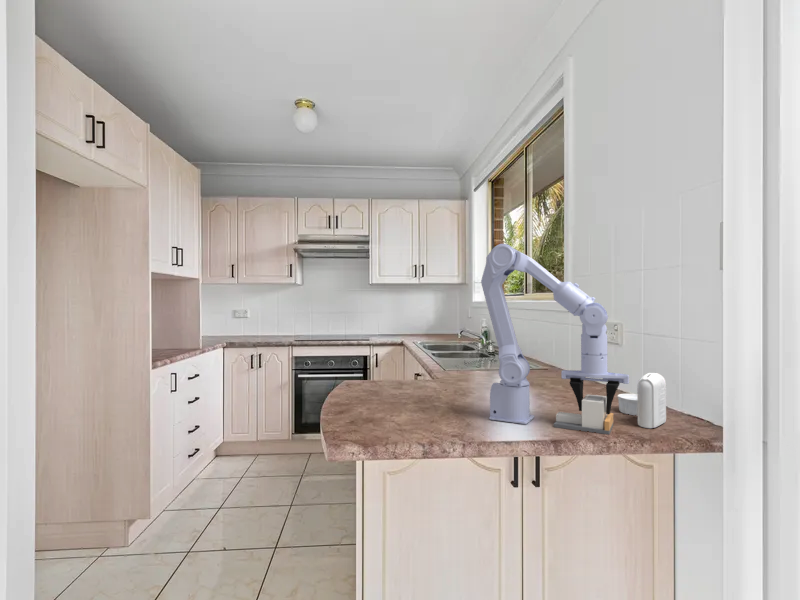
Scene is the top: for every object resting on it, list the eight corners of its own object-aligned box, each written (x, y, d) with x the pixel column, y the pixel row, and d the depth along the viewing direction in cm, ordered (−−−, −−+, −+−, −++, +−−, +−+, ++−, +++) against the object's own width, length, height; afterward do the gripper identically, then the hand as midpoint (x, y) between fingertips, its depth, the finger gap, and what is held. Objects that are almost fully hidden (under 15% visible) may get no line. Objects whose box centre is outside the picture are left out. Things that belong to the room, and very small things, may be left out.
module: (581, 426, 103) (581, 399, 103) (587, 418, 110) (586, 393, 110) (603, 429, 101) (603, 402, 101) (607, 421, 108) (606, 395, 108)
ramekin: (642, 408, 124) (642, 393, 124) (662, 416, 115) (662, 400, 115) (611, 409, 124) (611, 393, 124) (628, 417, 115) (628, 400, 115)
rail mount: (553, 427, 105) (553, 415, 106) (561, 418, 113) (561, 407, 113) (609, 434, 99) (609, 421, 99) (613, 424, 107) (613, 413, 107)
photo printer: (649, 418, 113) (649, 369, 113) (668, 421, 110) (668, 371, 110) (634, 426, 106) (634, 374, 106) (654, 430, 103) (654, 376, 103)
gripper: (629, 353, 105) (630, 411, 105) (565, 350, 112) (565, 404, 112) (627, 357, 99) (628, 418, 99) (559, 353, 106) (559, 410, 106)
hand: (594, 411), depth 105 cm, fingers open, 5 cm apart
